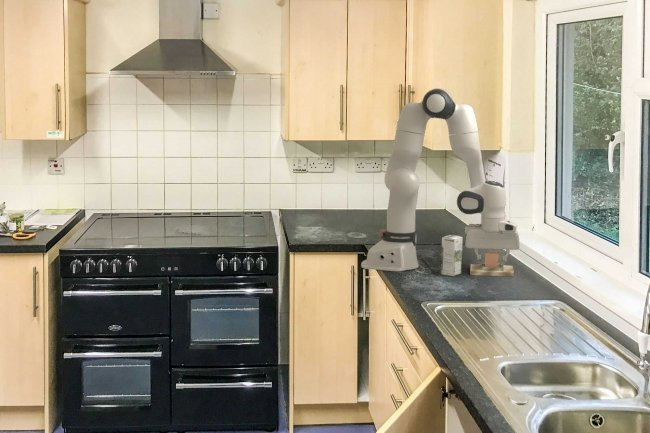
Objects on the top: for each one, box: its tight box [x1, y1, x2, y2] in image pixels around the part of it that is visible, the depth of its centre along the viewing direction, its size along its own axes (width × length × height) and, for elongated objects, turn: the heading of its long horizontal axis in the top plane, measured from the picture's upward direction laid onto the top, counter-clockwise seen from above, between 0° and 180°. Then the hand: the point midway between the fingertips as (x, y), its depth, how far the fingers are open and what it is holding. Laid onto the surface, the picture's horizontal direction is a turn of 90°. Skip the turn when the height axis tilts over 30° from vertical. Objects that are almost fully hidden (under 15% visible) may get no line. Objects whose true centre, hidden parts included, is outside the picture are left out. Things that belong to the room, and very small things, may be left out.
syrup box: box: [440, 234, 464, 277], centre depth 330 cm, size 6×6×14 cm
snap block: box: [484, 250, 500, 268], centre depth 334 cm, size 5×5×6 cm
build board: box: [469, 262, 515, 278], centre depth 334 cm, size 16×12×2 cm
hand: (491, 260), depth 334 cm, fingers open, 8 cm apart
